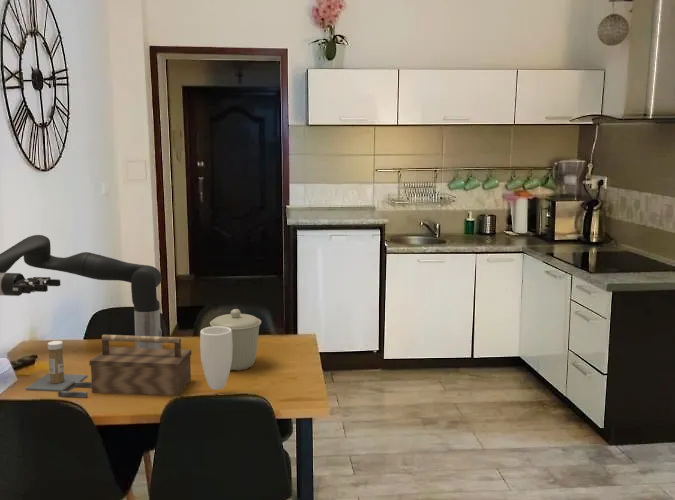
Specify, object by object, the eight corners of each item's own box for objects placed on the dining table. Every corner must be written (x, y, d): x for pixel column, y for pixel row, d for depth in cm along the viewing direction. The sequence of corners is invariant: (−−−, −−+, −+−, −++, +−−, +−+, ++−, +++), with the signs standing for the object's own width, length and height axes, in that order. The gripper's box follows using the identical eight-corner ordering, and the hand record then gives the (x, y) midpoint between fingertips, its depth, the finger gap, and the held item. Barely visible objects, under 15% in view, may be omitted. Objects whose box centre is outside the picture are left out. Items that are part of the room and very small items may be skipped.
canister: (271, 366, 239) (271, 309, 236) (231, 378, 226) (231, 318, 223) (240, 355, 251) (239, 300, 248) (200, 366, 238) (199, 309, 235)
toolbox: (58, 396, 208) (55, 344, 205) (85, 375, 227) (83, 327, 224) (174, 401, 205) (172, 348, 203) (191, 380, 224) (190, 331, 221)
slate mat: (25, 390, 213) (25, 388, 213) (47, 375, 227) (47, 373, 227) (68, 391, 212) (67, 390, 212) (87, 376, 226) (87, 375, 226)
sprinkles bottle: (65, 382, 219) (63, 342, 216) (51, 384, 216) (48, 345, 214) (63, 378, 222) (61, 339, 220) (48, 380, 220) (46, 341, 218)
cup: (205, 404, 203) (204, 336, 200) (196, 393, 213) (195, 327, 209) (238, 398, 208) (237, 332, 205) (227, 388, 217) (226, 324, 214)
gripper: (-7, 277, 212) (42, 278, 211) (17, 269, 227) (63, 270, 225) (-6, 300, 214) (43, 301, 213) (18, 290, 228) (64, 291, 227)
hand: (53, 285), depth 219 cm, fingers open, 8 cm apart
